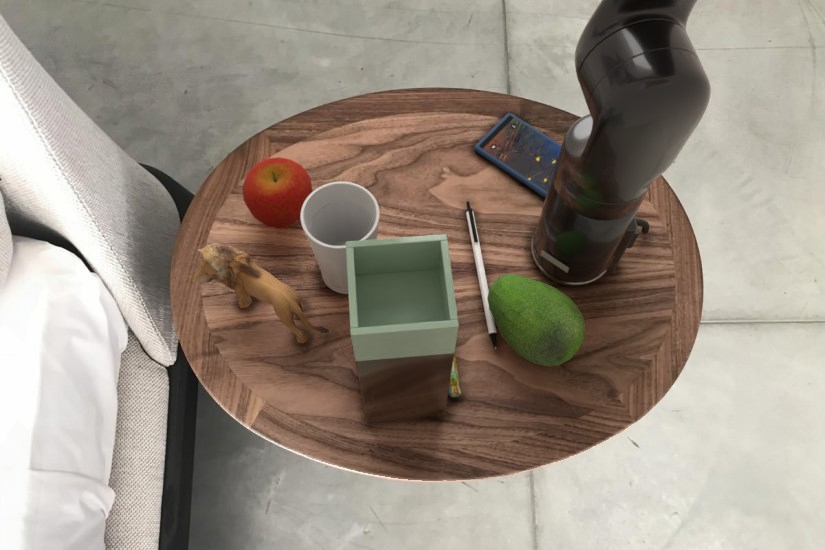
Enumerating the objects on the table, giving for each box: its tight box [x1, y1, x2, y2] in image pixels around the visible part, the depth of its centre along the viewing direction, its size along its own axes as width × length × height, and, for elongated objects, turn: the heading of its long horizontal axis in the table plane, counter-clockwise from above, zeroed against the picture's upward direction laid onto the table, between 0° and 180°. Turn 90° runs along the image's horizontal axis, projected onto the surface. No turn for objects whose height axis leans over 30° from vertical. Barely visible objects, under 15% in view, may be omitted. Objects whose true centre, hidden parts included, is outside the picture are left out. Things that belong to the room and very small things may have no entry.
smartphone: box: [473, 112, 562, 199], centre depth 90 cm, size 8×1×15 cm
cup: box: [299, 181, 380, 295], centre depth 78 cm, size 8×8×12 cm
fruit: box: [487, 273, 586, 367], centre depth 76 cm, size 8×8×12 cm
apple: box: [242, 156, 313, 230], centre depth 83 cm, size 8×8×8 cm
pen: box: [465, 200, 498, 350], centre depth 82 cm, size 1×19×1 cm, turn 7°
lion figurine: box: [194, 242, 330, 344], centre depth 77 cm, size 15×5×9 cm, turn 66°
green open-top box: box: [346, 233, 460, 423], centre depth 67 cm, size 8×8×24 cm
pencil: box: [448, 352, 462, 398], centre depth 80 cm, size 1×1×18 cm
